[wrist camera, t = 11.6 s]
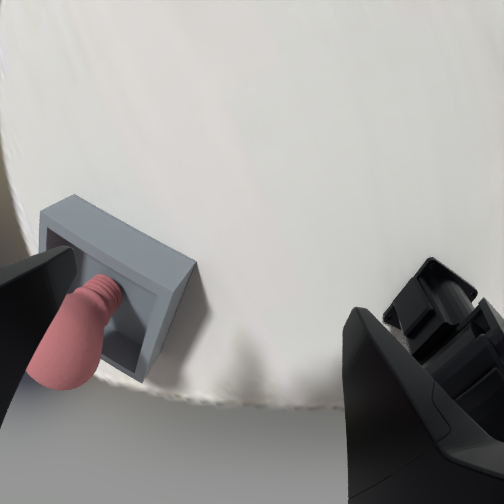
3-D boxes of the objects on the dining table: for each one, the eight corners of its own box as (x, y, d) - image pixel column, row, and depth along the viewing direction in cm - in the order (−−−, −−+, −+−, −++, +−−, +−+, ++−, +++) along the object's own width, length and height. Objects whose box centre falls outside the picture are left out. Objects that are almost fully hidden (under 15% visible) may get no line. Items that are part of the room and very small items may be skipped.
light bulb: (134, 253, 23) (38, 349, 13) (152, 321, 26) (86, 421, 16) (75, 249, 25) (-15, 323, 14) (95, 311, 28) (27, 390, 17)
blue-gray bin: (196, 261, 24) (173, 292, 20) (159, 353, 30) (142, 383, 26) (74, 194, 23) (40, 211, 19) (65, 294, 29) (41, 316, 25)
